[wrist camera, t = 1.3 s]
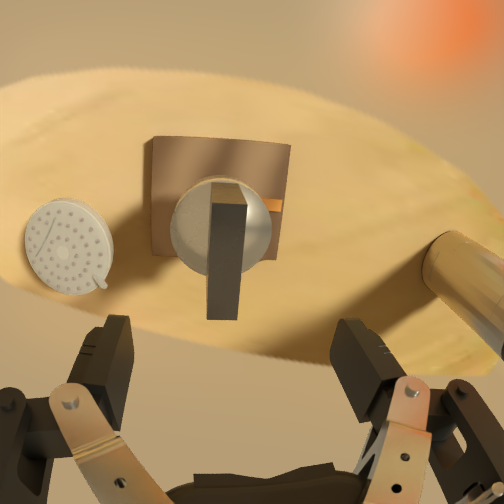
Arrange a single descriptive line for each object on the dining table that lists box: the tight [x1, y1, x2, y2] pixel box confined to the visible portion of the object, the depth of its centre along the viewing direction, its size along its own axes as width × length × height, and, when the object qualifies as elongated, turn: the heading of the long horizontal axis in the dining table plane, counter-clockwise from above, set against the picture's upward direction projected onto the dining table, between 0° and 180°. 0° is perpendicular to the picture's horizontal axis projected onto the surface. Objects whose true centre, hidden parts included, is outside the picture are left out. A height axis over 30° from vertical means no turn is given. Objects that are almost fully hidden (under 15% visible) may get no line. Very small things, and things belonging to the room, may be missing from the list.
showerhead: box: [25, 198, 114, 295], centre depth 28 cm, size 9×7×10 cm
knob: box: [170, 175, 272, 320], centre depth 21 cm, size 7×8×8 cm
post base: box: [151, 136, 291, 260], centre depth 28 cm, size 13×12×8 cm
